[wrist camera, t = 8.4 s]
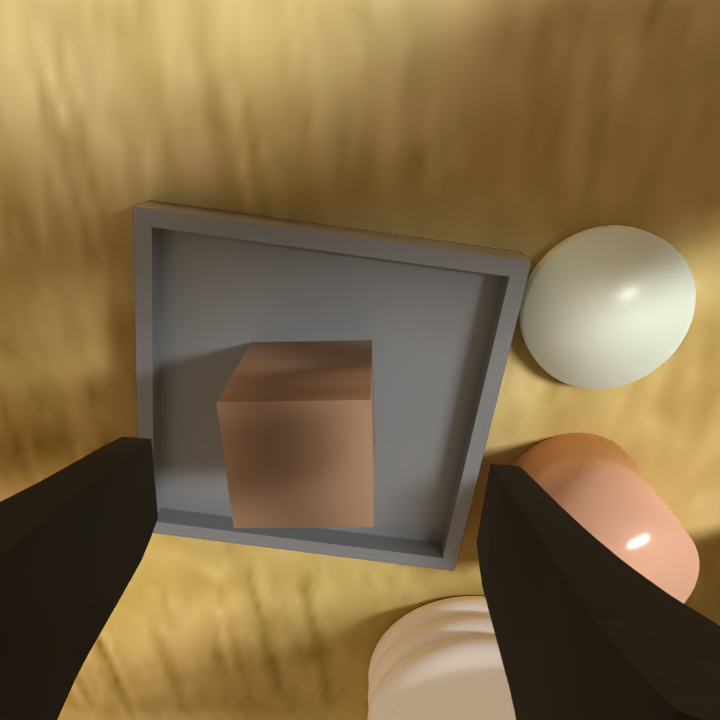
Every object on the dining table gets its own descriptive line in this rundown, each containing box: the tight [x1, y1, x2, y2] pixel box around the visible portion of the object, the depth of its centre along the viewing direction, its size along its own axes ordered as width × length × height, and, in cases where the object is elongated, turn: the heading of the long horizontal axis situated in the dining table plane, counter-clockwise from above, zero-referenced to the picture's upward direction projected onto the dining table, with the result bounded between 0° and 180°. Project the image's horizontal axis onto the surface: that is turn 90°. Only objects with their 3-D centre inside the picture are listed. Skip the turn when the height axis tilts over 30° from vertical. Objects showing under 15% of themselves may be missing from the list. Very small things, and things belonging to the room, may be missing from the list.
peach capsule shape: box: [512, 433, 699, 604], centre depth 22 cm, size 6×6×5 cm
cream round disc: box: [367, 596, 516, 720], centre depth 27 cm, size 10×10×4 cm
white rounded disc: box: [519, 225, 696, 389], centre depth 21 cm, size 6×6×1 cm
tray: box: [133, 201, 532, 571], centre depth 22 cm, size 13×13×2 cm
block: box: [216, 340, 375, 528], centre depth 20 cm, size 4×4×5 cm
